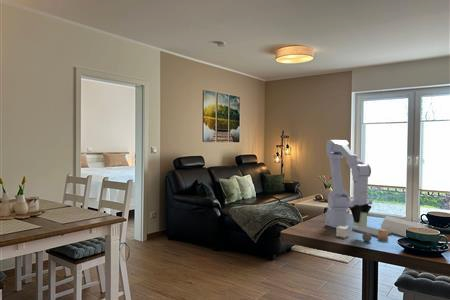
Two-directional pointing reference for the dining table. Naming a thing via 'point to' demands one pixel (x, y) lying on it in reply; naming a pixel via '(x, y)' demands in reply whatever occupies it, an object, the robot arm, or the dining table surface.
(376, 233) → the slate board
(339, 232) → the off-white cube
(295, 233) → the dining table surface
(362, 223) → the sage block
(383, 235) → the tan sphere
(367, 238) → the rubber ball
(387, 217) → the crystal
